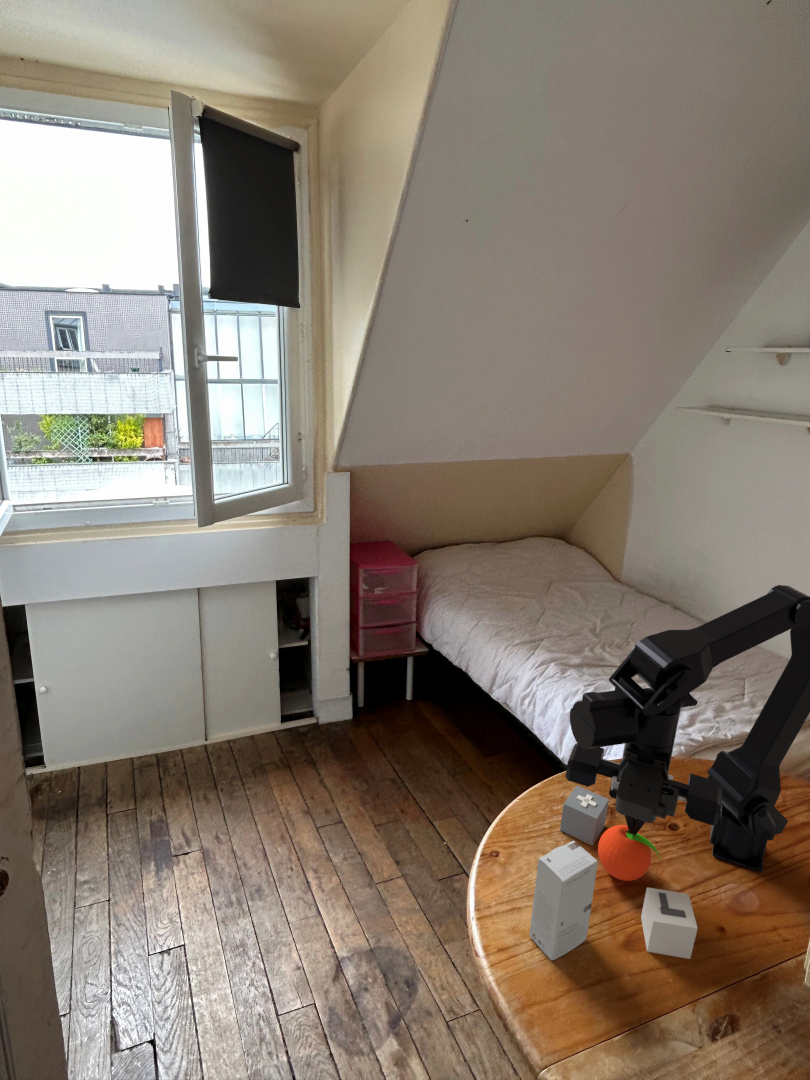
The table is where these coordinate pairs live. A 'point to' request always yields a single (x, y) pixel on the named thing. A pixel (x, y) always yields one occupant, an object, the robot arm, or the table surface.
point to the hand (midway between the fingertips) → (632, 832)
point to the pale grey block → (668, 923)
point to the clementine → (625, 853)
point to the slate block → (584, 815)
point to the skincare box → (562, 899)
